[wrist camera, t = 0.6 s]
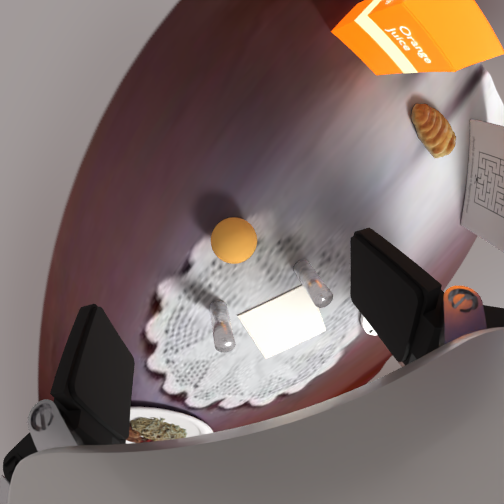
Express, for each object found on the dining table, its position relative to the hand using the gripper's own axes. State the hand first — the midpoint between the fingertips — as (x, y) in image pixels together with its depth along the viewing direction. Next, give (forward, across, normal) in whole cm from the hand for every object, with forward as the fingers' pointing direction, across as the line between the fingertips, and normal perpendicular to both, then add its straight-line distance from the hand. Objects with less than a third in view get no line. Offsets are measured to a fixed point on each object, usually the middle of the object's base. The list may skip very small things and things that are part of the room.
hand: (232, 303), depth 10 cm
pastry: (+26, -35, 0) cm, 44 cm away
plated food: (+26, +30, +54) cm, 67 cm away
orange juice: (+26, -25, -14) cm, 39 cm away
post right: (+25, -10, +17) cm, 32 cm away
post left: (+25, +3, +20) cm, 33 cm away
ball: (+23, -2, +9) cm, 24 cm away
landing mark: (+25, -6, +27) cm, 38 cm away
